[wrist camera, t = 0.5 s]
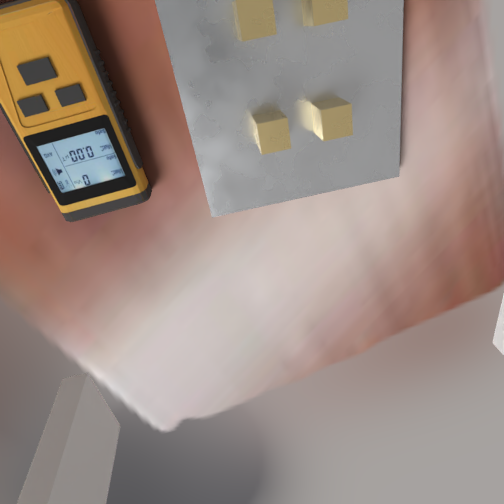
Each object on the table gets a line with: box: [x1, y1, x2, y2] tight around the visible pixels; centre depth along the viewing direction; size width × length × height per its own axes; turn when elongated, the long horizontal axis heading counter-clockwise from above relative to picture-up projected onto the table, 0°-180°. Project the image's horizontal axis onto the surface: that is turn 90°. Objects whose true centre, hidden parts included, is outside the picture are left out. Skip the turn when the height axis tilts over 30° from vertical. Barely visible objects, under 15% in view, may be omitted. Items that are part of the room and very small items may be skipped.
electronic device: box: [0, 0, 152, 222], centre depth 30 cm, size 8×16×3 cm, turn 13°
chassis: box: [155, 0, 404, 217], centre depth 29 cm, size 22×18×4 cm
